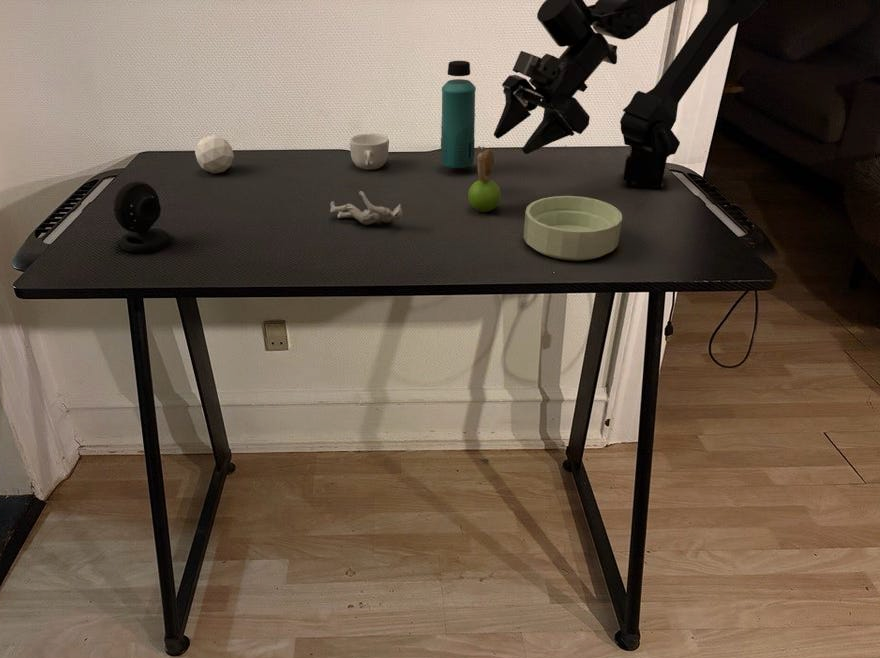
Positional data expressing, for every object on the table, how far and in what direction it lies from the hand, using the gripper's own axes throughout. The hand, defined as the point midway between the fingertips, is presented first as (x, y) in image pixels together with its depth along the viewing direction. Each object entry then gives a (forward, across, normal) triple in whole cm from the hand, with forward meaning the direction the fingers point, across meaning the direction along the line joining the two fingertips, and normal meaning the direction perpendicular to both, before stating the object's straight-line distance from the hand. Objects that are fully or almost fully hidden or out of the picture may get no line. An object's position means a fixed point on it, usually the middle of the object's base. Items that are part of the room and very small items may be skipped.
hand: (509, 144), depth 119 cm
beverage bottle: (+7, -21, +9) cm, 24 cm away
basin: (+6, +17, +9) cm, 20 cm away
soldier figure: (+25, -4, -9) cm, 27 cm away
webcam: (+50, -10, -33) cm, 61 cm away
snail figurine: (+11, 0, +5) cm, 12 cm away
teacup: (+18, -29, -2) cm, 34 cm away
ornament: (+38, -40, -21) cm, 59 cm away
